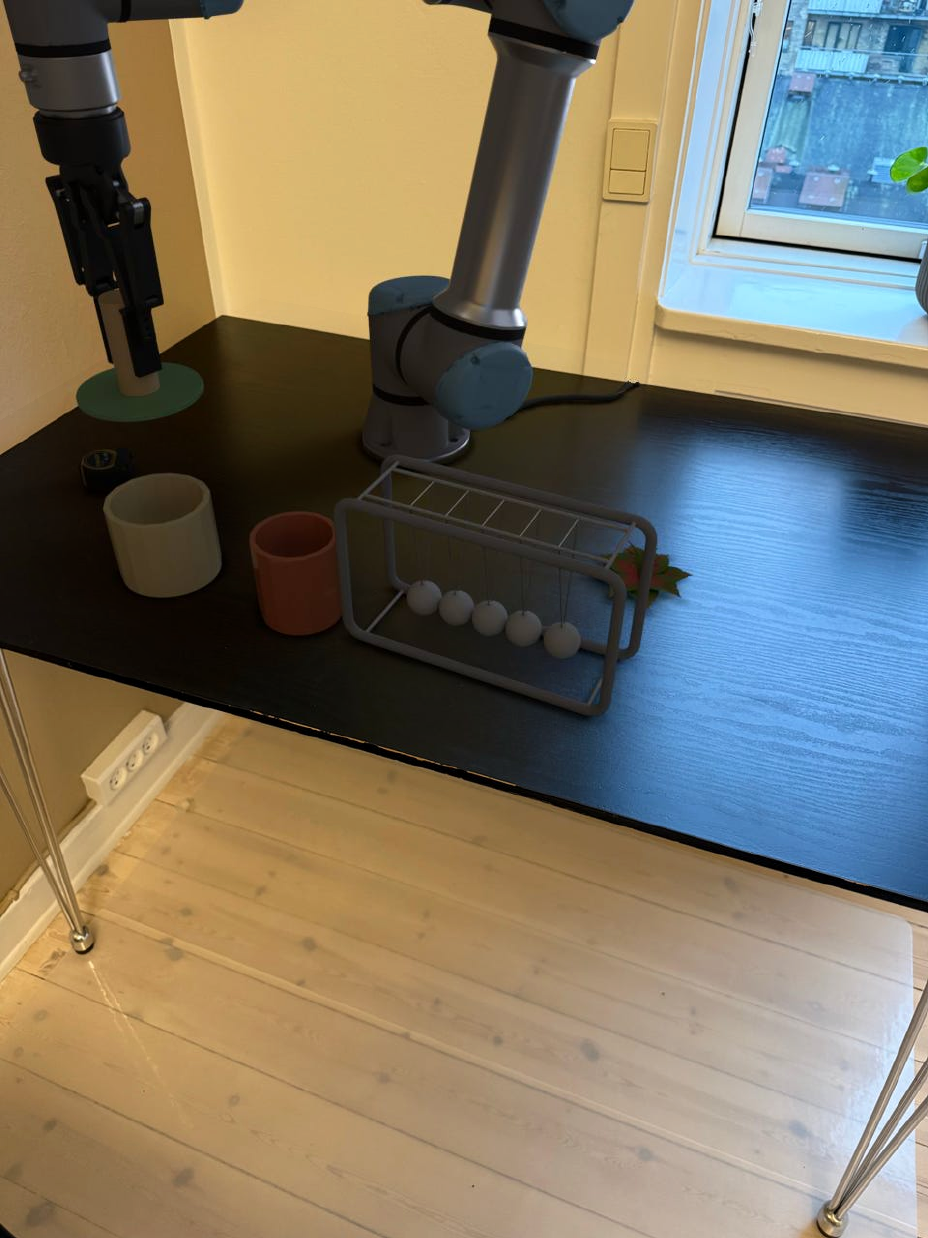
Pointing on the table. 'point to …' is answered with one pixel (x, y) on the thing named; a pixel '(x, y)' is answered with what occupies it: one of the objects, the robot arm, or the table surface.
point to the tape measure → (106, 469)
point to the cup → (296, 572)
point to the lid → (134, 379)
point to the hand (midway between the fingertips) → (135, 365)
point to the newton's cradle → (491, 614)
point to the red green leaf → (630, 570)
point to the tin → (164, 534)
